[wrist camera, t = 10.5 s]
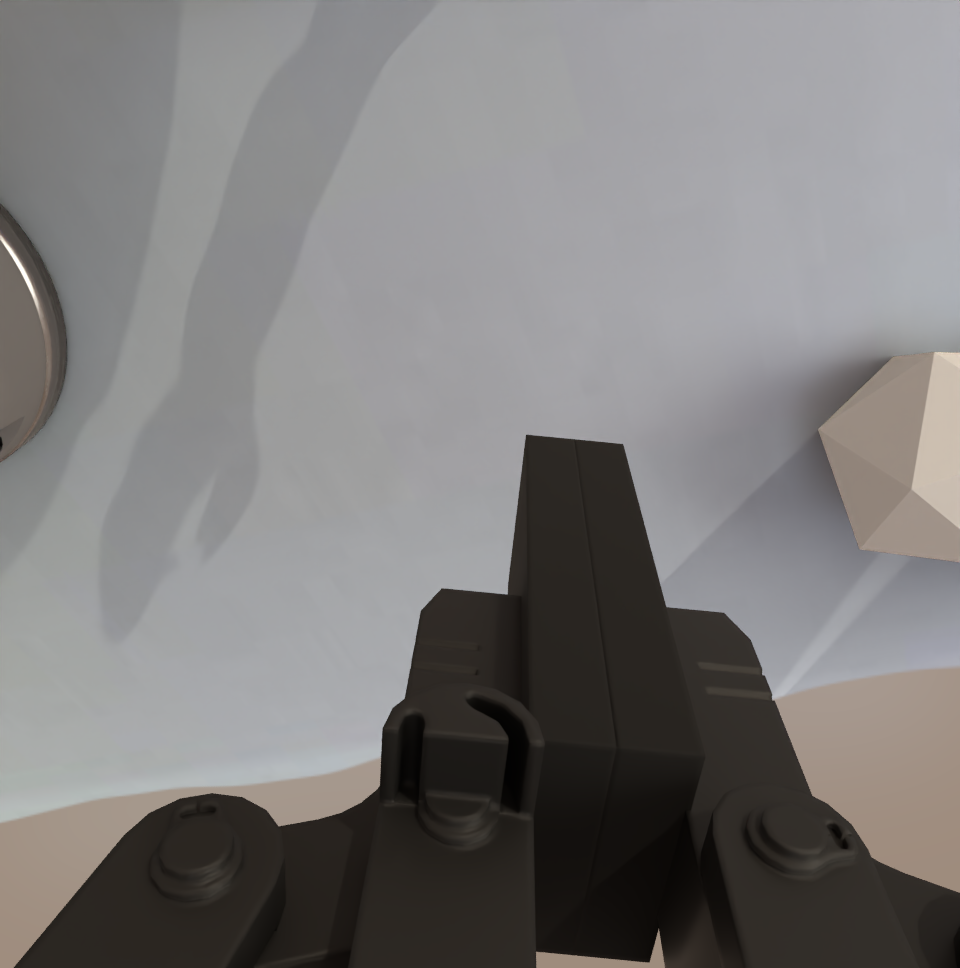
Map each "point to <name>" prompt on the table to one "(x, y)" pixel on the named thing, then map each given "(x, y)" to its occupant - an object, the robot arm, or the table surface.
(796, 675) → the table surface
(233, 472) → the table surface
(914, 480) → the die
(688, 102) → the table surface
